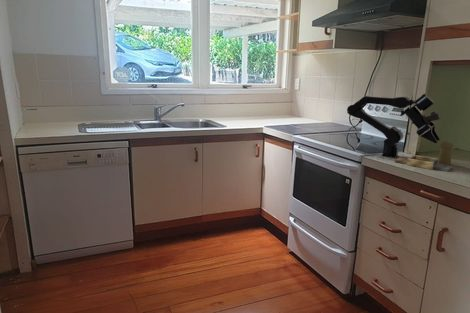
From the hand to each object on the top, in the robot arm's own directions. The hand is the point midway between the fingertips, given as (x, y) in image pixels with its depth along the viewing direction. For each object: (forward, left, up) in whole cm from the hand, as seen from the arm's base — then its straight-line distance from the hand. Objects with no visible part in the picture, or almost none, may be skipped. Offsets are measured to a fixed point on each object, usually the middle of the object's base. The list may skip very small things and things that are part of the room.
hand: (437, 141), depth 168 cm
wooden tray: (-3, -11, -11) cm, 15 cm away
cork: (+4, 0, -11) cm, 12 cm away
